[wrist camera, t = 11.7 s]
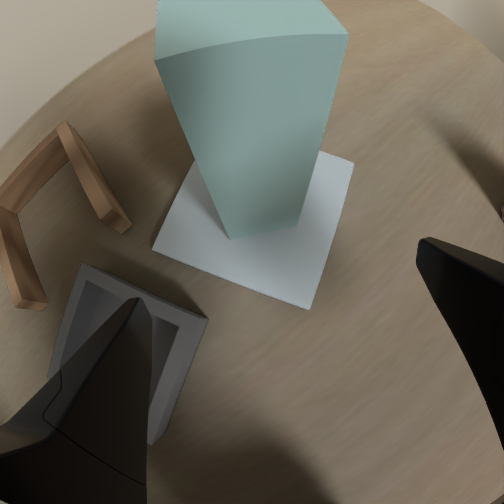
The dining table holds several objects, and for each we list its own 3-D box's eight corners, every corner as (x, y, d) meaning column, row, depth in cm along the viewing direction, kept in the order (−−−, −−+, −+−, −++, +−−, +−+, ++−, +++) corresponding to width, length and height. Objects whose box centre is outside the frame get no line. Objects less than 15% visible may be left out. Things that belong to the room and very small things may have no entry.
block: (296, 226, 17) (349, 34, 5) (229, 239, 17) (154, 60, 5) (281, 167, 18) (292, -28, 5) (218, 180, 18) (159, -8, 5)
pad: (307, 310, 17) (309, 310, 16) (155, 251, 18) (151, 249, 17) (352, 167, 19) (354, 163, 18) (217, 126, 20) (216, 121, 19)
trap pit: (165, 431, 15) (151, 445, 13) (68, 373, 16) (47, 376, 14) (208, 318, 17) (199, 318, 14) (102, 269, 18) (82, 262, 15)
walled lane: (132, 224, 18) (112, 208, 15) (41, 311, 17) (15, 307, 14) (82, 139, 21) (65, 120, 18) (8, 214, 19) (-13, 202, 17)
